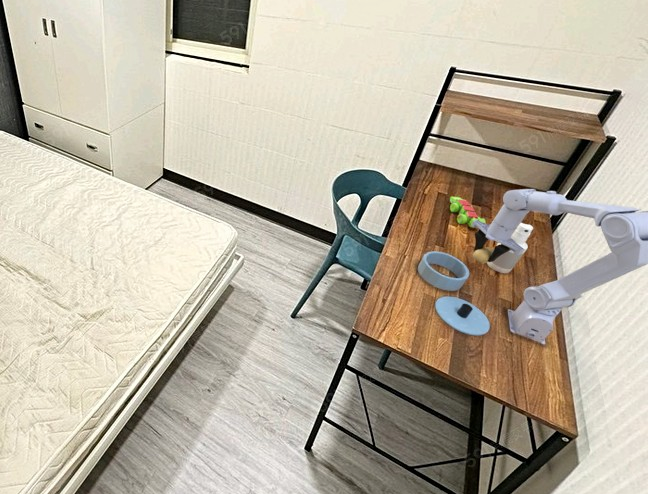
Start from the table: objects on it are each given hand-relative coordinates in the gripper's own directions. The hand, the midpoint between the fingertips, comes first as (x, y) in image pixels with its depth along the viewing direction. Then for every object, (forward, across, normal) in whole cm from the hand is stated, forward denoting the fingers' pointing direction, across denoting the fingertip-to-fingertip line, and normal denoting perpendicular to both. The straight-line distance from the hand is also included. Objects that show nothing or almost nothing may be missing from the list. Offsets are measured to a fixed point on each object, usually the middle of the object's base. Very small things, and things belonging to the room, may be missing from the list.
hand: (483, 256), depth 130 cm
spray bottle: (+9, 0, +12) cm, 15 cm away
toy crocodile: (+9, -23, +26) cm, 36 cm away
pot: (+9, -3, -11) cm, 14 cm away
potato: (+1, 0, 0) cm, 1 cm away
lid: (+8, +11, -20) cm, 24 cm away
